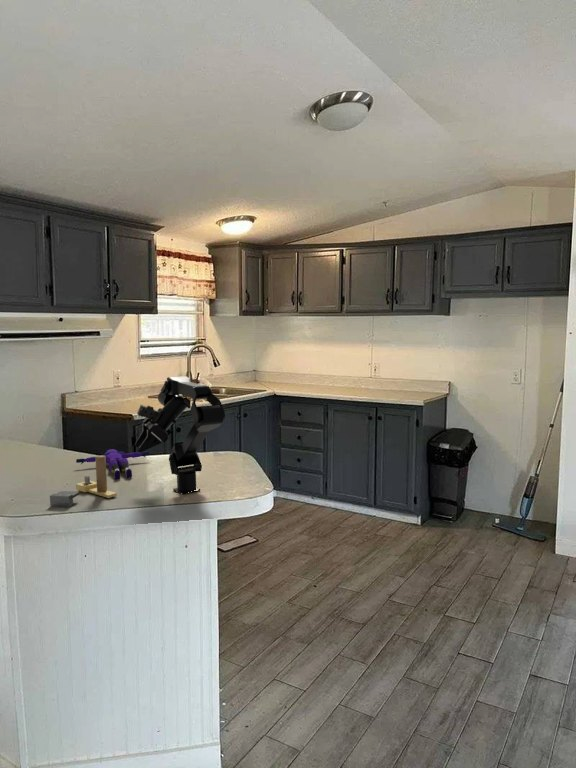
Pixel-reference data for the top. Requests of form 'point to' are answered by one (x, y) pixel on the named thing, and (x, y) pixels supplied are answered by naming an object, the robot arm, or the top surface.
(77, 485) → the link
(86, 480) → the peg
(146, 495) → the top surface
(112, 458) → the toy
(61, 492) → the keeper
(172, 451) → the robot arm
